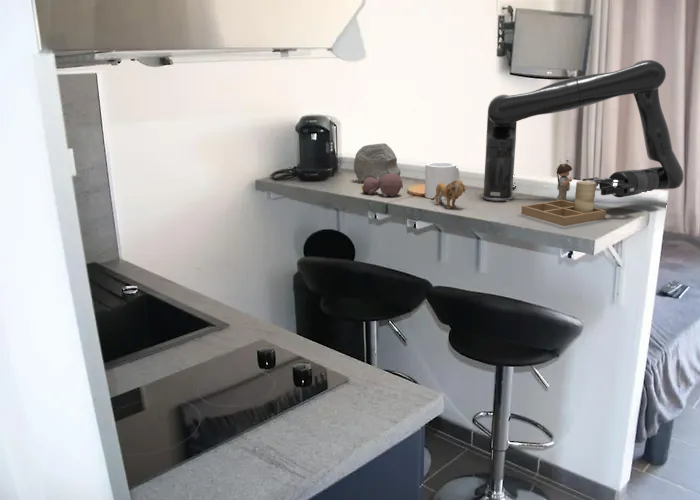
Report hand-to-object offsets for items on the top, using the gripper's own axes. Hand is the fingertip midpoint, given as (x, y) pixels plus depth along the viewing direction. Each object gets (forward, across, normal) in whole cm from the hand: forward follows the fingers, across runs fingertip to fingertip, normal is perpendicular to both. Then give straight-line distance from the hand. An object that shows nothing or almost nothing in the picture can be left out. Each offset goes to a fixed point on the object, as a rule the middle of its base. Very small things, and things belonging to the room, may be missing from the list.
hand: (589, 188), depth 180 cm
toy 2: (-8, -17, +9) cm, 21 cm away
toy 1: (+33, -59, +9) cm, 68 cm away
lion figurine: (+24, -34, +9) cm, 42 cm away
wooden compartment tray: (+6, -4, +9) cm, 11 cm away
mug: (+16, -47, +9) cm, 50 cm away
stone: (+24, -77, +9) cm, 81 cm away
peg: (+2, 0, +8) cm, 8 cm away
